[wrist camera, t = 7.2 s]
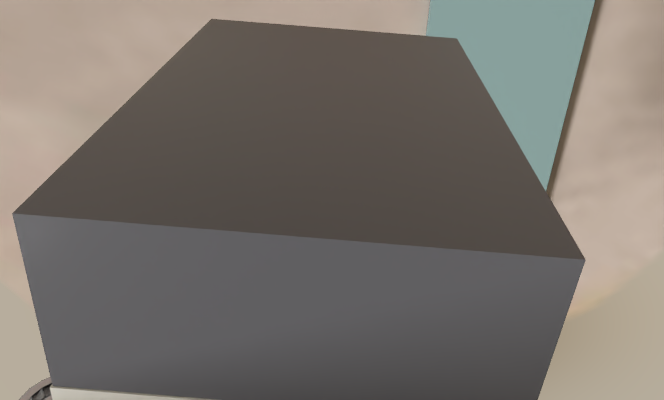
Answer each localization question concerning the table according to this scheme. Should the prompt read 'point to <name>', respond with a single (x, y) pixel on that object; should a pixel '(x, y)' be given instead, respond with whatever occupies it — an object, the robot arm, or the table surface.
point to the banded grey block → (300, 231)
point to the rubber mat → (521, 62)
